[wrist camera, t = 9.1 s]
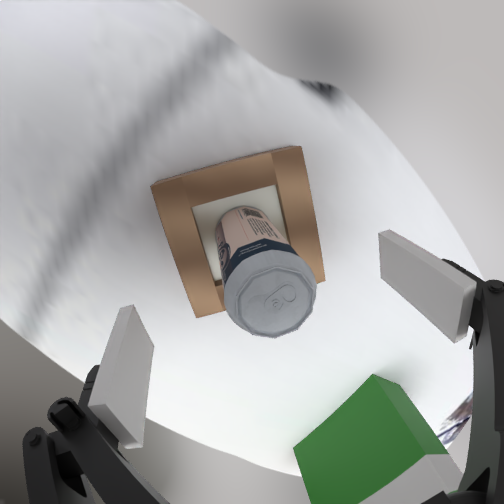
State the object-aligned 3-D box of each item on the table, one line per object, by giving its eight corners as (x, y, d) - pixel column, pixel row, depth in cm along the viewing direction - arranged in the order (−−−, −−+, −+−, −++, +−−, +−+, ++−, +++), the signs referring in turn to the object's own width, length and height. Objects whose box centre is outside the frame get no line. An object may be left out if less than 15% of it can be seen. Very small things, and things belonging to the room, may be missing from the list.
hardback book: (324, 452, 43) (370, 565, 20) (292, 447, 40) (336, 576, 18) (399, 385, 39) (480, 500, 17) (372, 373, 37) (461, 511, 15)
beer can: (203, 229, 25) (204, 301, 14) (249, 192, 24) (288, 237, 13) (238, 270, 27) (264, 359, 16) (282, 236, 26) (339, 306, 15)
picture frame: (155, 182, 24) (150, 186, 22) (291, 145, 25) (301, 146, 23) (196, 303, 29) (196, 318, 26) (315, 269, 30) (325, 280, 27)
